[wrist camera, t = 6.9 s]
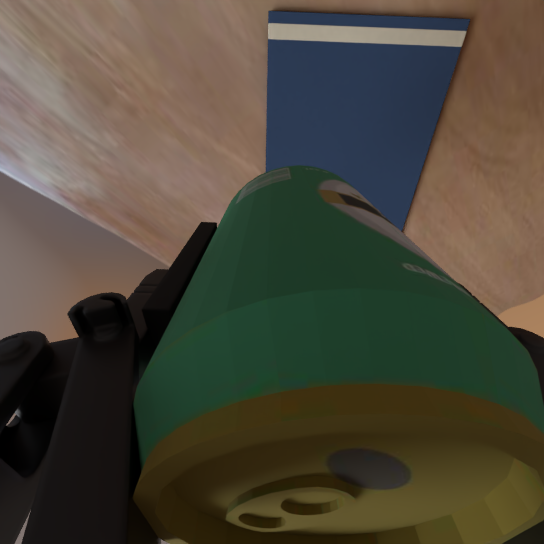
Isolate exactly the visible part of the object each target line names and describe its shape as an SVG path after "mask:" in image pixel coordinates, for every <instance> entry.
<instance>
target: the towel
mask: <svg viewBox="0 0 544 544" xmlns="http://www.w3.org/2000/svg"><path fill="white" fill-rule="evenodd" d="M469 22H470V19H456V18H432V17H408V16H384V15H359V14H335V13H311V12H287V11H269V18H268V75H267V133H266V172H268V171H270V170H273V169H277V168H281V167H285V166H297V165H302V166H313V167H317V168H321V169H324V170H327V171H330V172H332V173H334V174H336V175H338V176H340V177H341V178H342V179H344V180H345V181H347V182H348V183H349V184H350V185H351V186H352V187H354V188H355V189H356V190H357V191H358V192H359V193H360V194H361V195H362V196H363V197H364V198H366V199H367V200H368V201H369V202H370V203H371V204H372V205H373V206H374V207H375V208H376V209H377V210H379V211H380V212H381V213H382V214H383V215H384V216H385V217H386V218H387V219H388V220H389V221H391V222H392V223H393V224H394V225H395V226H396V227H397V228H398V229H399V230H400V231H401V232H402V230H403V226H404V223H405V220H406V217H407V214H408V211H409V208H410V205H411V202H412V199H413V196H414V192H415V189H416V186H417V183H418V180H419V177H420V174H421V171H422V168H423V165H424V161H425V158H426V155H427V152H428V149H429V146H430V143H431V140H432V137H433V134H434V131H435V127H436V124H437V121H438V118H439V115H440V112H441V109H442V106H443V103H444V100H445V96H446V93H447V90H448V87H449V84H450V81H451V78H452V75H453V72H454V69H455V66H456V62H457V59H458V56H459V53H460V50H461V47H462V44H463V41H464V38H465V35H466V32H467V28H468V25H469Z"/></svg>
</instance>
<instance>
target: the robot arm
mask: <svg viewBox="0 0 544 544" xmlns="http://www.w3.org/2000/svg"><path fill="white" fill-rule="evenodd" d="M216 230H217V223H213V222H201V223H200V224H199V226H198V227H197V229H196V230H195V232H194V233H193V235H192V236H191V238H190V239H189V241H188V242H187V243H186V245H185V246H184V248H183V249H182V251H181V252H180V254H179V255H178V257H177V258H176V260H175V261H174V262H173V264H172V265H171V267H170V268H169V270H165V269H156V270H155V271H153V272H152V273H150V274H148V275H147V276H146V277H145V278H144V279H143V280H142V282H141V283H140V285H139V286H138V287H137V288H136V289H135V290H134V293H132V294H131V295H130V297H129V298H128V299H127V300H126V298H125V296H123V295H121V294H119V293H112V292H111V293H101V294H97V295H93V296H90V297H88V298H86V299H84V300H82V301H80V302H78V303H77V304H76V305H74V306H73V307H72V308H71V309H70V311H69V312H68V316H69V318H70V320H71V322H72V324H73V326H74V328H75V330H76V332H77V334H78V336H79V337H77V338H73V339H68V340H62V341H57V342H52V343H49V341H48V340H47V338H46V336H45V335H44V334H42V333H41V332H37V331H27V332H22V333H17V334H14V335H12V336H8V337H6V338H3V339H2V340H0V544H14V543H15V541H16V539H17V537H18V535H19V533H20V531H21V529H22V527H23V525H24V523H25V521H26V519H27V517H28V514H29V512H30V510H31V512H30V515H29V519H28V523H27V526H26V530H25V533H24V537H23V541H22V544H161V539H160V538H159V537H158V536H157V534H156V533H155V531H154V530H153V529H152V527H151V526H150V524H149V523H148V521H147V520H146V518H145V517H144V515H143V514H142V512H141V511H140V509H139V508H138V506H137V505H136V503H135V502H134V500H133V499H132V498H133V495H134V492H135V489H136V486H137V483H138V481H139V478H140V475H141V468H140V460H139V451H138V443H137V435H136V426H135V418H134V410H133V403H134V398H135V394H136V389H137V386H138V384H139V382H140V380H141V378H142V376H143V374H144V372H145V370H146V368H147V366H148V364H149V362H150V360H151V358H152V356H153V354H154V352H155V350H156V348H157V346H158V344H159V342H160V340H161V338H162V336H163V334H164V332H165V330H166V329H167V327H168V325H169V323H170V321H171V319H172V317H173V315H174V313H175V311H176V309H177V307H178V305H179V303H180V301H181V299H182V297H183V295H184V293H185V291H186V289H187V287H188V285H189V283H190V281H191V279H192V277H193V275H194V273H195V271H196V269H197V267H198V265H199V263H200V261H201V259H202V257H203V255H204V253H205V251H206V249H207V247H208V246H209V244H210V242H211V240H212V238H213V236H214V234H215V232H216ZM458 284H459V283H458ZM459 285H460V286H461V287H462V288H463V289H464V290H465V291H467V292H468V293H469V294H470V295H471V296H472V294H471V293H470V292H469V291H468V290H467V289H466V288H465V287H464V286H462V285H461V284H459ZM472 297H473V298H474V299H475V300H476V301H477V302H478V303H480V301H479V300H478V299H477V298H476V297H475V296H472ZM480 304H481V305H482V306H483V307H484V308H485V309H486V310H487V311H488V312H489V313H490V314H492V315H493V316H494V317H495V318H496V319H497V320H498V321H499V322H500V323H501V324H502V325H503V326H505V327H506V328H507V329H508V330H509V331H510V332H511V333H512V334H513V335H514V336H515V337H516V339H517V340H518V341H519V342H520V343H521V344H522V345H523V346H524V347H525V348H526V349H527V350H528V352H529V354H530V356H531V359H532V361H533V363H534V365H535V367H536V369H537V372H538V378H539V383H540V388H541V394H542V399H543V405H544V338H543V337H541V336H538V335H537V334H535V333H533V332H530V331H527V330H524V329H521V328H515V327H508V326H506V325H505V324H504V323H503V322H502V321H501V320H500V319H499V318H498V317H497V316H495V315H494V314H493V313H492V312H491V311H490V310H489V309H488V308H487V307H486V306H484V305H483V304H482V303H480ZM14 413H15V414H16V416H15V417H14V419H13V420H12V421H11V422H10V424H8V425H7V426H6V424H7V423H8V421H9V420H10V418H11V417H12V415H13V414H14ZM502 544H544V520H543V521H541V522H539V523H538V524H536V525H534V526H532V527H531V528H529V529H527V530H525V531H523V532H522V533H520V534H518V535H516V536H515V537H513V538H511V539H509V540H508V541H506V542H504V543H502Z"/></svg>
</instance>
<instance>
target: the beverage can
mask: <svg viewBox="0 0 544 544" xmlns="http://www.w3.org/2000/svg"><path fill="white" fill-rule="evenodd" d="M133 410H134V418H135V426H136V435H137V443H138V451H139V460H140V468H141V475H140V478H139V481H138V483H137V486H136V489H135V492H134V495H133V498H132V499H133V500H134V502H135V503H136V505H137V506H138V508H139V509H140V511H141V512H142V514H143V515H144V517H145V518H146V520H147V521H148V523H149V524H150V526H151V527H152V529H153V530H154V531H155V533H156V534H157V536H158V537H159V538H160V539H162V540H163V541H166V542H168V543H170V544H502V543H504V542H506V541H508V540H509V539H511V538H513V537H515V536H516V535H518V534H520V533H522V532H523V531H525V530H527V529H529V528H531V527H532V526H534V525H536V524H538V523H539V522H541V521H543V520H544V405H543V399H542V394H541V388H540V383H539V378H538V372H537V369H536V367H535V365H534V363H533V361H532V359H531V356H530V354H529V352H528V350H527V349H526V348H525V347H524V346H523V345H522V344H521V343H520V342H519V341H518V340H517V339H516V337H515V336H514V335H513V334H512V333H511V332H510V331H509V330H508V329H507V328H506V327H505V326H503V325H502V324H501V323H500V322H499V321H498V320H497V319H496V318H495V317H494V316H493V315H492V314H490V313H489V312H488V311H487V310H486V309H485V308H484V307H483V306H482V305H481V304H480V303H478V302H477V301H476V300H475V299H474V298H473V297H472V296H471V295H470V294H469V293H468V292H467V291H465V290H464V289H463V288H462V287H461V286H460V285H459V284H458V283H457V282H456V281H455V280H454V279H452V278H451V277H450V276H449V275H448V274H447V273H446V272H445V271H444V270H443V269H442V268H440V267H439V266H438V265H437V264H436V263H435V262H434V261H433V260H432V259H431V258H430V257H429V256H427V255H426V254H425V253H424V252H423V251H422V250H421V249H420V248H419V247H418V246H417V245H415V244H414V243H413V242H412V241H411V240H410V239H409V238H408V237H407V236H406V235H405V234H404V233H402V232H401V231H400V230H399V229H398V228H397V227H396V226H395V225H394V224H393V223H392V222H391V221H389V220H388V219H387V218H386V217H385V216H384V215H383V214H382V213H381V212H380V211H379V210H377V209H376V208H375V207H374V206H373V205H372V204H371V203H370V202H369V201H368V200H367V199H366V198H364V197H363V196H362V195H361V194H360V193H359V192H358V191H357V190H356V189H355V188H354V187H352V186H351V185H350V184H349V183H348V182H347V181H345V180H344V179H342V178H341V177H340V176H338V175H336V174H334V173H332V172H330V171H327V170H324V169H321V168H317V167H313V166H302V165H297V166H285V167H281V168H277V169H273V170H270V171H268V172H266V173H264V174H261V175H259V176H258V177H256V178H255V179H253V180H252V181H250V182H248V183H247V184H246V185H245V186H244V187H243V188H242V189H241V190H240V191H239V192H238V193H237V194H236V196H235V197H234V198H233V200H232V201H231V203H230V204H229V206H228V208H227V210H226V212H225V214H224V216H223V218H222V220H221V222H220V224H219V226H218V228H217V230H216V232H215V234H214V236H213V238H212V240H211V242H210V244H209V246H208V247H207V249H206V251H205V253H204V255H203V257H202V259H201V261H200V263H199V265H198V267H197V269H196V271H195V273H194V275H193V277H192V279H191V281H190V283H189V285H188V287H187V289H186V291H185V293H184V295H183V297H182V299H181V301H180V303H179V305H178V307H177V309H176V311H175V313H174V315H173V317H172V319H171V321H170V323H169V325H168V327H167V329H166V330H165V332H164V334H163V336H162V338H161V340H160V342H159V344H158V346H157V348H156V350H155V352H154V354H153V356H152V358H151V360H150V362H149V364H148V366H147V368H146V370H145V372H144V374H143V376H142V378H141V380H140V382H139V384H138V386H137V389H136V394H135V398H134V403H133Z"/></svg>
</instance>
